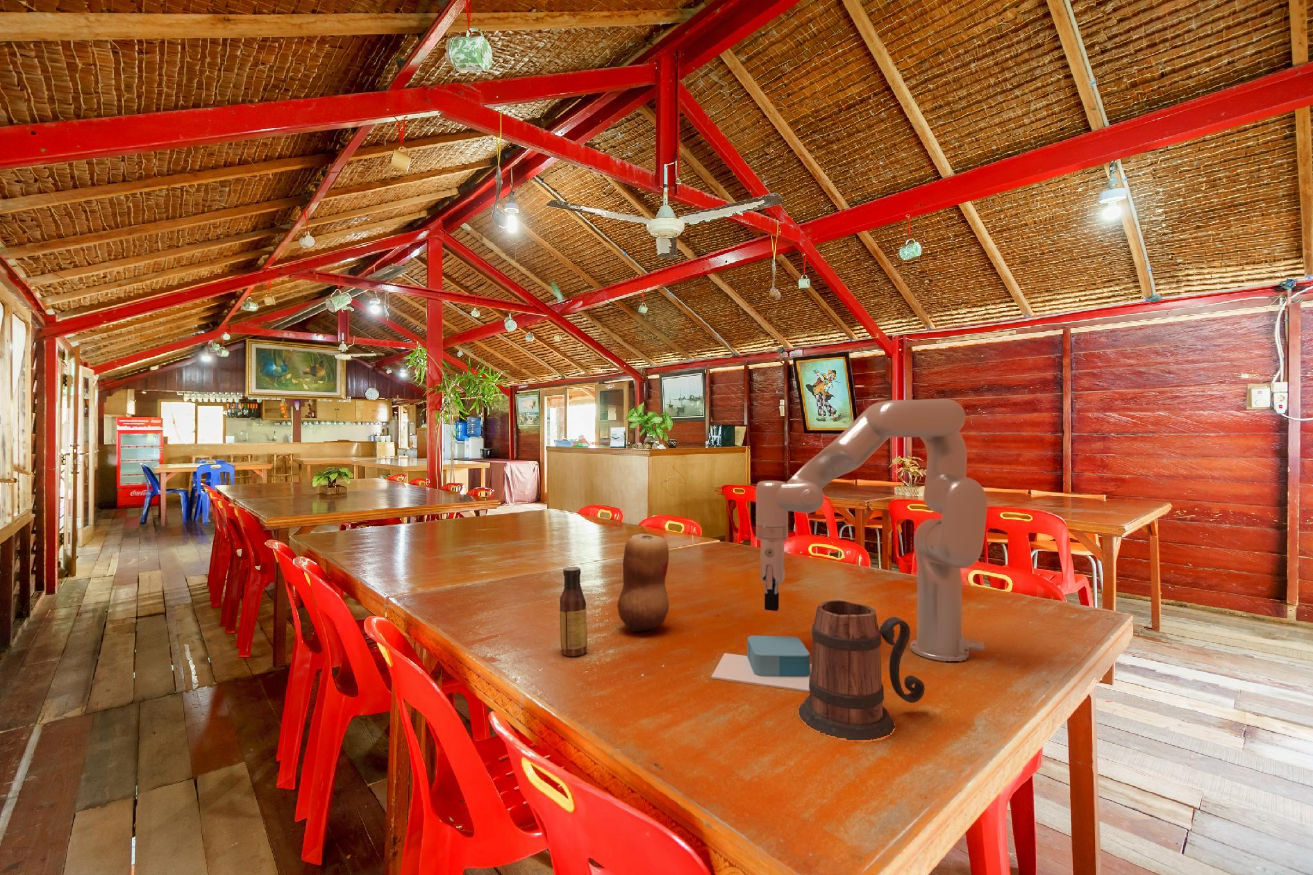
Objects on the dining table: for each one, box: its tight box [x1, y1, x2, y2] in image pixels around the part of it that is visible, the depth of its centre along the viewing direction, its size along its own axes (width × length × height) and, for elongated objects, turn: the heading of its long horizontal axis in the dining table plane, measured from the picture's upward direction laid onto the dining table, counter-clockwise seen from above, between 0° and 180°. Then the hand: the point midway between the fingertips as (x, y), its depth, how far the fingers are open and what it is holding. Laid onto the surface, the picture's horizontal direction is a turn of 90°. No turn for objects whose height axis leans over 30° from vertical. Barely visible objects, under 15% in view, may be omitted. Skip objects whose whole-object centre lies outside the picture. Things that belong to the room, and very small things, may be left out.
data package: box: [746, 635, 811, 676], centre depth 126 cm, size 12×4×12 cm
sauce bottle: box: [559, 566, 588, 657], centre depth 134 cm, size 6×6×20 cm
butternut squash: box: [616, 533, 670, 632], centre depth 151 cm, size 14×13×25 cm
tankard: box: [798, 599, 925, 740], centre depth 104 cm, size 24×17×20 cm
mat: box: [711, 652, 812, 693], centre depth 123 cm, size 20×14×1 cm
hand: (771, 609), depth 136 cm, fingers closed
